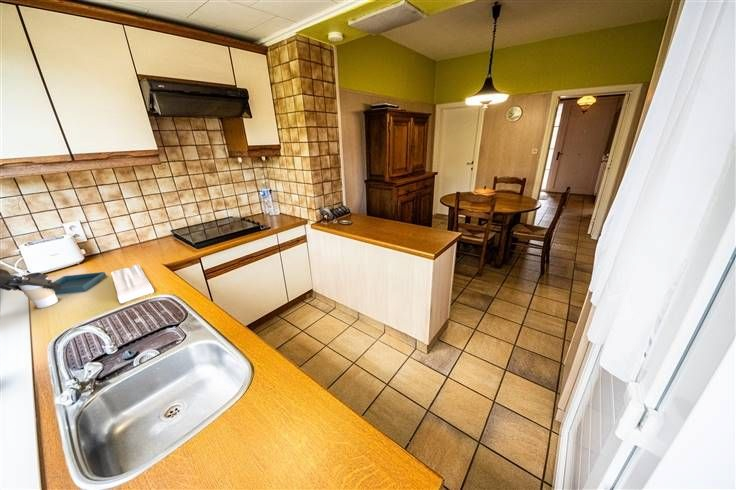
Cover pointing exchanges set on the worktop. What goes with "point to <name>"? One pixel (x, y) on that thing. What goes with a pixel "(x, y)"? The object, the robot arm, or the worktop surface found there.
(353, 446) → the worktop surface
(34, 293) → the coffee cup
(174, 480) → the worktop surface
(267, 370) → the worktop surface
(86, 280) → the tray
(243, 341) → the worktop surface
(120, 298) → the hand towel
